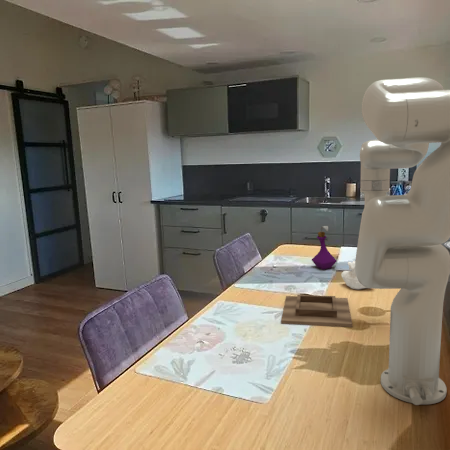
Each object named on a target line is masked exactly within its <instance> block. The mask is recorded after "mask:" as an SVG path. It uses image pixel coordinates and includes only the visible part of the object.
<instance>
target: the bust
mask: <svg viewBox="0 0 450 450" xmlns="http://www.w3.org/2000/svg"><path fill="white" fill-rule="evenodd" d="M347 265H348V270H343V272H341V273H340V274H341V279H342V280H343V281H344V283H345V285H346V286H347V287H349V288H350V289H353V290H363V289H368V288H367V287H365V286H363V285H362V284H360V282H359V281H358V279H357V277H356V272H355V260H353V261H347Z"/></svg>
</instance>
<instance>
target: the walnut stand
mask: <svg viewBox="0 0 450 450" xmlns="http://www.w3.org/2000/svg"><path fill="white" fill-rule="evenodd" d="M281 314H282V315H281V320H280V324H285V325H303V326H304V325H305V326H325V327H340V328H341V327H342V328H343V327H344V328H353V320H352V316H351V314H352V313H351V309H350V305H349V299H348V297H336V295H314V294H313V295H312V294H311V295H309V294H306V295H305V294H296V295H286V296H285V300H284V305H283V310H282V313H281Z"/></svg>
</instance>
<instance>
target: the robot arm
mask: <svg viewBox="0 0 450 450" xmlns="http://www.w3.org/2000/svg"><path fill="white" fill-rule="evenodd" d="M361 115H362V119H363V122H364V124H365V125H366V126H367V128H368V129H369V130H370V132H371V133H372V134H373V135H374V136H375V139H370V140H367V141H364V142H363V143H362V144H361V147H360V149H359V161H360V193H364V208H363V211H362V212H361V220H360V226H359V232H358V239H357V246H356V247H357V248H356V253H355V260H354V261H355V272H356V277H357V279H358V281H359V282H360V284H362V285H363V286H365V287H367V288H366V289H378V290H379V289H380V290H382V289H384V290H385V289H386V290H388V289H390V290H391V289H395V290H396V289H397V290H398V291H397V293H396V294H395V296H394V298H393V299H392V302H391V305H390V313H389V314H390V315H389V316H390V317H389V319H390V321H389V348H388V349H389V352H388V368H387V369H385V370H384V371H383V372H381V374H380V384H381V387H382V388H383V390H385V391H386V393H388V394H389V395H390V396H393V398H395V399H398V400H400V401H403V402H407V403H410V404H413V405H414V406H419V405H432V404H436V403H440V402H441V401H443V400H444V399H445V398H446V397H447V385H446V384H445V382H444V381H443V380H442V379H441V378H440V363H441V362H440V361H441V360H440V359H441V346H442V345H441V341H442V325H443V323H442V321H443V309H444V301H445V300H444V299H445V295H446V289H447V285H448V281H449V278H450V252H449V250H448V249H447V248H446V247H445V246H444V245H443V244H445V243H446V242H447V241H448V240H449V239H450V89H444V86H443V85H442V84H441V83H440V82H438V81H437V80H436V79H434V78H430V77H421V76H419V77H418V76H417V77H406V78H405V77H404V78H389V79H388V78H387V79H380V80H375V81H373V82H372V83H371V84H370V85H369V86H368V87H367V88H366V90H365V91H364V94H363V97H362V101H361ZM432 143H433V144H434V143H436V144H437V143H440V145H439V146H438V147H437V148H436V149H435V150H434V151H432V152H430V154H428V156H427V157H426V155H427V153H428V149H429V145H430V144H432ZM424 158H425V159H424ZM418 164H419V165H418ZM417 165H418V167H416V166H417ZM413 167H416V169H415V170H414V173H413V176H412V181H411V185H410V189H409V191H408V192H407V193H405V194H395V195H387V193H388V192H390V187H391V184H390V181H391V179H390V177H391V169H392V170H393V169H410V168H413Z"/></svg>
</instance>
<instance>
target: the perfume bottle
mask: <svg viewBox="0 0 450 450" xmlns="http://www.w3.org/2000/svg"><path fill="white" fill-rule="evenodd" d="M323 230H325V231H326V232H329V226H328V225H324V226H320V231H319V232H317V236H316V239H317V240H318V241H319V244H320V249H319V252H317V254H316V255H314V257H313V258H312V259H311V261H312V263H313V264H314V265H315V267H316V268H318V269H320V270H329V269H331V268H332V267H333V266H334V265H335V264H336V263H337V259H336V258H335V257H334V256H333V255H332V254H331V253H330V251H329V250H328V248H327V245H326V241H325V240H326V239H327V236H326V232H325V231H323Z"/></svg>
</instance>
